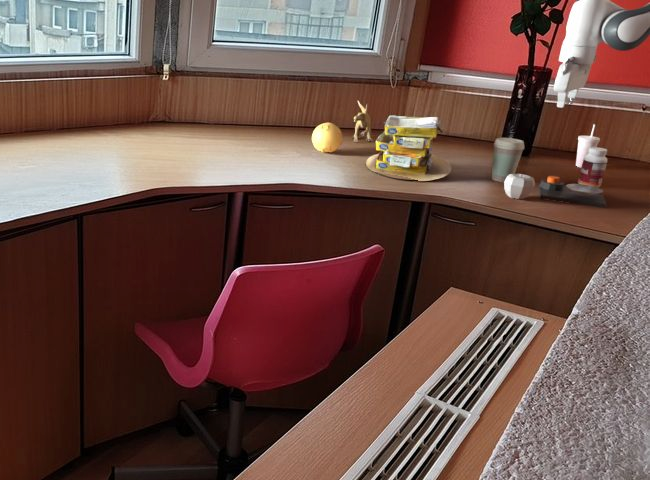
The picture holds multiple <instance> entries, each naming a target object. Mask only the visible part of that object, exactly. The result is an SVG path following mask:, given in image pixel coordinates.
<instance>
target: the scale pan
mask: <svg viewBox="0 0 650 480" xmlns="http://www.w3.org/2000/svg"><path fill="white" fill-rule="evenodd" d="M565 187H566V189H567V190H569V191H572V192H575V193H580V194H586V195H600V194H602V195H603V193H604V190H603V189H602V188H600V187H594V186H589V185H583V184H578V183H568V184H566V185H565Z"/></svg>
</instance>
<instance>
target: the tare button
mask: <svg viewBox="0 0 650 480" xmlns="http://www.w3.org/2000/svg"><path fill="white" fill-rule="evenodd" d="M546 179H547V182H549V183H554V184H558V183H559V181H560V176H556V175H548V176H547V178H546Z"/></svg>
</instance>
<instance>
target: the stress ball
mask: <svg viewBox="0 0 650 480" xmlns="http://www.w3.org/2000/svg"><path fill="white" fill-rule="evenodd" d="M311 142H312V145H313V147H314V148H315V149H316V150H317V151H319V152H320V151H321V152H320V153H323V152H330V153H332V152H334V151H336V150H337V149H338V148H340V146H341V145H342V143H343V133H342V130H341V128H340V127H339V126H337V125H336V124H334V123H333V122H324V123H321V124H319V125H317V126H316V127H315V128H314V130H313V132H312V135H311Z"/></svg>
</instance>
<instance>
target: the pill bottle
mask: <svg viewBox="0 0 650 480" xmlns="http://www.w3.org/2000/svg"><path fill="white" fill-rule="evenodd" d="M588 153H589V154H588V155H586V156H585V157H584V159H583V163H582V167H581V168H580V172H579V175H578V179H577V184H583V185H589V186H594V187H597V188H600V187H601V186H602V183H603V180H604V179H603V178H604V175H605V172H606V169H607V163H608V157H606V155H607V153H608V149H607V148H604V147H590V148H589V151H588Z"/></svg>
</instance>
